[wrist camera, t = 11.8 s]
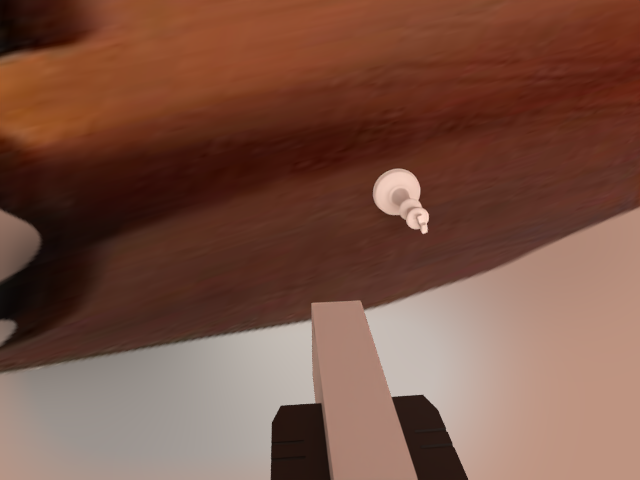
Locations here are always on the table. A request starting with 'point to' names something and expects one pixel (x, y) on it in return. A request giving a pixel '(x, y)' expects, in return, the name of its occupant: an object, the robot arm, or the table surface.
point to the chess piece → (401, 197)
